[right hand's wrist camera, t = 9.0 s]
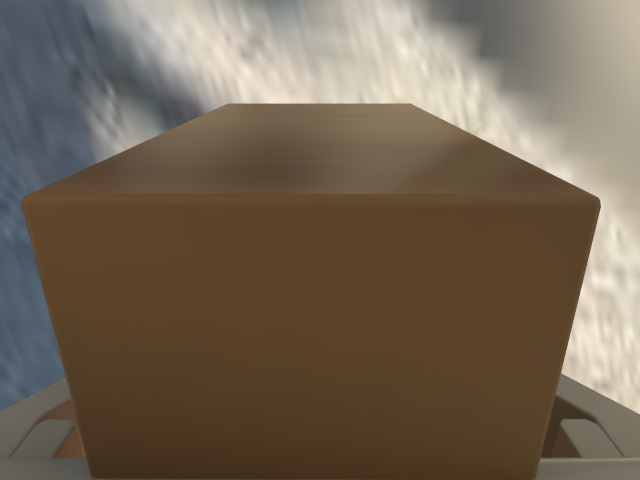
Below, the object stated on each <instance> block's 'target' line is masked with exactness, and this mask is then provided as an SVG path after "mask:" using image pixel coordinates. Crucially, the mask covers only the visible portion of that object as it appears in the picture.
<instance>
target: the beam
mask: <svg viewBox="0 0 640 480" xmlns="http://www.w3.org/2000/svg"><path fill="white" fill-rule="evenodd" d="M600 208H601V204H600V200H599V198H598V197H596V196H594V195H592V194H590V193H588V192H586V191H584V190H582V189H580V188H578V187H576V186H574V185H572V184H570V183H568V182H566V181H564V180H562V179H560V178H558V177H556V176H554V175H552V174H550V173H548V172H546V171H544V170H542V169H540V168H538V167H536V166H534V165H532V164H530V163H528V162H526V161H524V160H522V159H520V158H518V157H516V156H514V155H512V154H510V153H508V152H506V151H504V150H502V149H500V148H498V147H496V146H494V145H492V144H490V143H488V142H486V141H484V140H482V139H480V138H478V137H476V136H474V135H472V134H470V133H468V132H466V131H464V130H462V129H460V128H458V127H456V126H454V125H452V124H450V123H448V122H446V121H444V120H442V119H440V118H438V117H436V116H434V115H432V114H430V113H428V112H426V111H424V110H422V109H420V108H418V107H416V106H414V105H412V104H226V105H224V106H222V107H220V108H217V109H215V110H213V111H211V112H209V113H207V114H204V115H202V116H200V117H198V118H196V119H193V120H191V121H189V122H187V123H185V124H183V125H180V126H178V127H176V128H174V129H172V130H169V131H167V132H165V133H163V134H161V135H158V136H156V137H154V138H152V139H150V140H148V141H145V142H143V143H141V144H139V145H137V146H134V147H132V148H130V149H128V150H126V151H124V152H121V153H119V154H117V155H115V156H113V157H110V158H108V159H106V160H104V161H102V162H100V163H97V164H95V165H93V166H91V167H89V168H86V169H84V170H82V171H80V172H78V173H76V174H73V175H71V176H69V177H67V178H65V179H62V180H60V181H58V182H56V183H54V184H51V185H49V186H47V187H45V188H43V189H41V190H38V191H36V192H34V193H32V194H30V195H27V196H25V197H24V198H23V200H22V209H23V212H24V216H25V220H26V224H27V228H28V232H29V236H30V240H31V244H32V248H33V252H34V255H35V259H36V263H37V267H38V271H39V275H40V279H41V283H42V287H43V291H44V294H45V298H46V302H47V306H48V310H49V314H50V318H51V322H52V326H53V330H54V333H55V337H56V341H57V345H58V349H59V353H60V357H61V361H62V365H63V369H64V372H65V376H66V380H67V384H68V388H69V392H70V396H71V400H72V404H73V408H74V412H75V415H76V419H77V423H78V427H79V431H80V435H81V439H82V443H83V447H84V451H85V454H86V458H87V462H88V466H89V470H90V474H91V477H93V478H124V479H340V480H533V479H535V478H536V474H537V470H538V466H539V462H540V457H541V453H542V449H543V445H544V441H545V437H546V433H547V428H548V424H549V420H550V416H551V412H552V408H553V403H554V399H555V395H556V391H557V387H558V383H559V378H560V374H561V370H562V366H563V362H564V358H565V353H566V349H567V345H568V341H569V337H570V333H571V328H572V324H573V320H574V316H575V312H576V308H577V303H578V299H579V295H580V291H581V287H582V283H583V279H584V274H585V270H586V266H587V262H588V258H589V254H590V249H591V245H592V241H593V237H594V233H595V229H596V224H597V220H598V216H599V212H600Z"/></svg>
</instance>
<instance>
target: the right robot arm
mask: <svg viewBox="0 0 640 480" xmlns="http://www.w3.org/2000/svg"><path fill="white" fill-rule="evenodd" d="M0 480H340V479H124V478H93V477H91V474H90V470H89V466H88V462H87V458H86V454H85V451H84V447H83V443H82V439H81V435H80V431H79V427H78V423H77V419H76V415H75V412H74V408H73V404H72V400H71V396H70V392H69V388H68V384H67V380H66V378H64V379H62V380H60V381H58V382H56V383H54V384H53V385H51V386H49V387H47V388H45V389H43V390H41V391H39V392H37V393H35V394H33V395H31V396H29V397H27V398H25V399H23V400H21V401H20V402H18V403H16V404H14V405H12V406H10V407H8V408H6V409H4V410H2V411H0ZM533 480H640V414H638V413H636V412H634V411H632V410H630V409H628V408H626V407H624V406H622V405H621V404H619V403H617V402H615V401H613V400H611V399H609V398H607V397H605V396H603V395H601V394H599V393H598V392H596V391H594V390H592V389H590V388H588V387H586V386H584V385H582V384H580V383H578V382H576V381H575V380H573V379H571V378H569V377H567V376H565V375H563V374H560V378H559V383H558V387H557V391H556V395H555V399H554V403H553V408H552V412H551V416H550V420H549V424H548V428H547V433H546V437H545V441H544V445H543V449H542V453H541V457H540V462H539V466H538V470H537V474H536V478H535V479H533Z"/></svg>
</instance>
